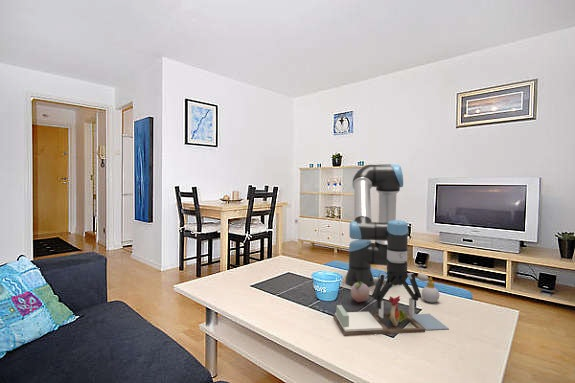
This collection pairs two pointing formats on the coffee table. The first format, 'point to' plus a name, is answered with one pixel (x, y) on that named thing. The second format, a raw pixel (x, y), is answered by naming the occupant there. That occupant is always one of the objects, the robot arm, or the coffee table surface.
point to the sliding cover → (356, 320)
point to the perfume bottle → (429, 289)
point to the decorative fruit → (360, 292)
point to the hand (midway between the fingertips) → (396, 316)
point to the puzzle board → (384, 327)
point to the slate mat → (429, 322)
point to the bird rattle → (396, 311)
